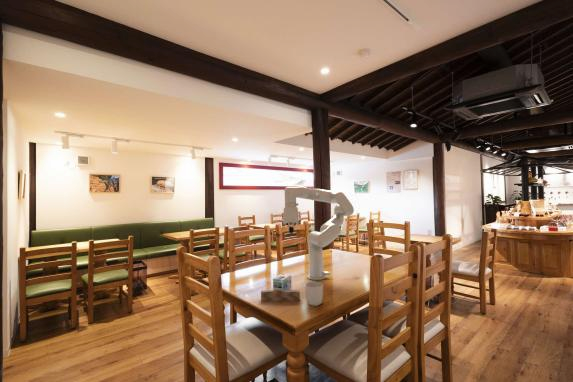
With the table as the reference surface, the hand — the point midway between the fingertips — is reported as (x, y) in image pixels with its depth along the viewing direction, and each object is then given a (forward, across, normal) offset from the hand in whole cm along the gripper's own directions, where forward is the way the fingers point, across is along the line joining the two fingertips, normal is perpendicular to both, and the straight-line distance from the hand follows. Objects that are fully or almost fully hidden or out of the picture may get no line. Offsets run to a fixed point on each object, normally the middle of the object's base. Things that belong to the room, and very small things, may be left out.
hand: (291, 232), depth 178 cm
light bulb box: (+32, +5, +25) cm, 41 cm away
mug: (+32, -14, +34) cm, 49 cm away
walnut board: (+32, +5, +32) cm, 45 cm away
